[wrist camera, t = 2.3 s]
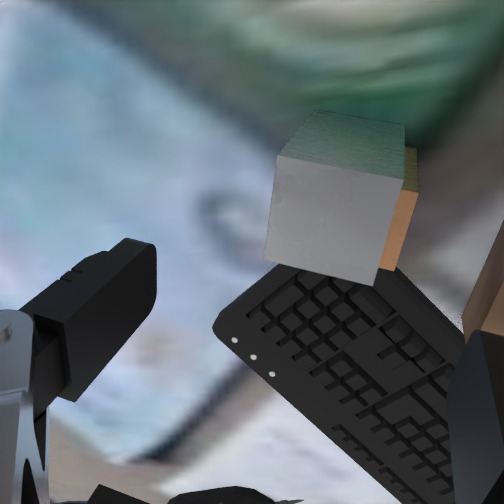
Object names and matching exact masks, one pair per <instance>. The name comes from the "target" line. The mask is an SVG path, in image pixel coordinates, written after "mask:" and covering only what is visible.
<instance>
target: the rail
mask: <svg viewBox="0 0 504 504" xmlns="http://www.w3.org/2000/svg"><path fill="white" fill-rule="evenodd" d="M461 318H462V324H463V331H464V337H465V343H467V341H468V339H469V337H470V335H471V333H472V332H473V331H474V330H475V329H479V330H482V331H486V332H490V333H494V334H498V335H502V336H504V221H503V224H502V226H501V228H500V231H499V233H498V235H497V237H496V240H495V242H494V244H493V247H492V249H491V251H490V253H489V256H488V258H487V260H486V262H485V265H484V267H483V269H482V272H481V274H480V276H479V278H478V281H477V283H476V285H475V288H474V290H473V292H472V294H471V297H470V299H469V301H468V304H467V306H466V308H465V310H464V313H463V315H462V317H461Z"/></svg>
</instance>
